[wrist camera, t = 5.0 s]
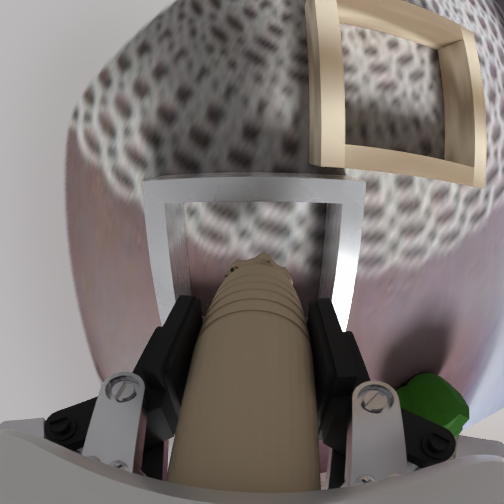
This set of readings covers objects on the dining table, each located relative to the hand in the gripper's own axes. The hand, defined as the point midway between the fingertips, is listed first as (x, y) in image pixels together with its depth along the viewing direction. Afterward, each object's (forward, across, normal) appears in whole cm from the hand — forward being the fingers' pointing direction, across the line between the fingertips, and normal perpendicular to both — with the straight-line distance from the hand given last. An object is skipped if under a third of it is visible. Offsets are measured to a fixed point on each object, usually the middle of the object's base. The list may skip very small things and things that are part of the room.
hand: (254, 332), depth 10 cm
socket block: (+8, 0, +1) cm, 9 cm away
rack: (+9, -9, -11) cm, 17 cm away
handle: (+4, 0, 0) cm, 4 cm away
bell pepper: (+9, -17, +16) cm, 24 cm away
